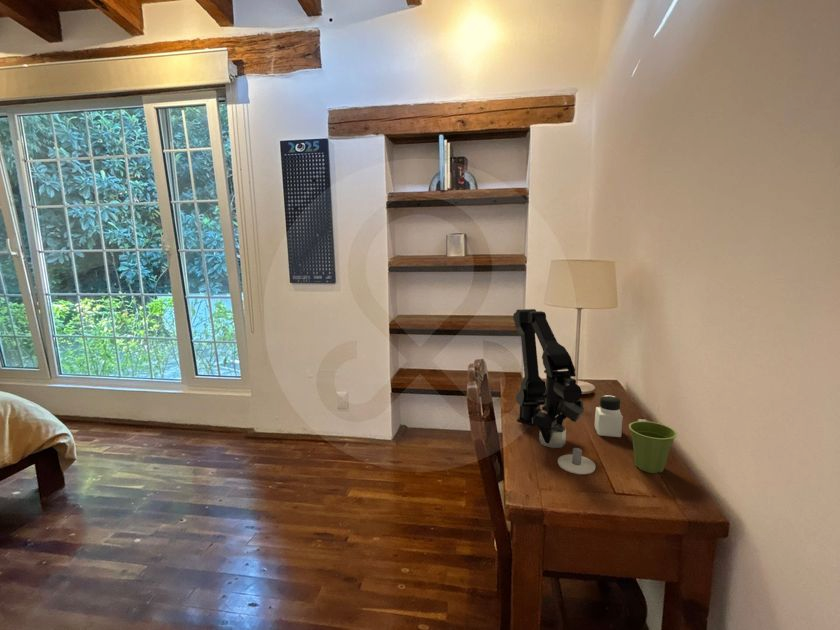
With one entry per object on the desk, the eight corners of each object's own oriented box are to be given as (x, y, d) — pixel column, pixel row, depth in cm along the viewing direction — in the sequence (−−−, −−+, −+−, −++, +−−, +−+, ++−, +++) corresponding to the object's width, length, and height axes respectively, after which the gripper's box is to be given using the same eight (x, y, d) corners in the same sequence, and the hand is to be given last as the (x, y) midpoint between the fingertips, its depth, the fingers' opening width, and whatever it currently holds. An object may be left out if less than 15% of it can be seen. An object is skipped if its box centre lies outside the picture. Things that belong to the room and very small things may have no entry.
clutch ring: (536, 443, 139) (537, 428, 138) (546, 435, 145) (546, 420, 144) (558, 450, 135) (559, 434, 134) (567, 441, 140) (568, 426, 139)
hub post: (552, 466, 125) (553, 451, 124) (565, 453, 133) (566, 438, 132) (588, 478, 119) (589, 462, 118) (600, 463, 127) (601, 448, 126)
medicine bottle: (621, 437, 143) (624, 402, 141) (598, 435, 145) (600, 400, 142) (616, 428, 150) (619, 394, 148) (594, 426, 151) (596, 392, 149)
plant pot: (665, 459, 129) (669, 422, 127) (678, 480, 118) (683, 441, 116) (621, 454, 132) (624, 418, 130) (630, 475, 121) (634, 436, 119)
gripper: (569, 406, 125) (565, 458, 127) (592, 389, 139) (588, 435, 142) (532, 397, 132) (529, 446, 134) (557, 381, 146) (554, 426, 148)
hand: (552, 438), depth 139 cm, fingers closed on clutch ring, 7 cm apart
